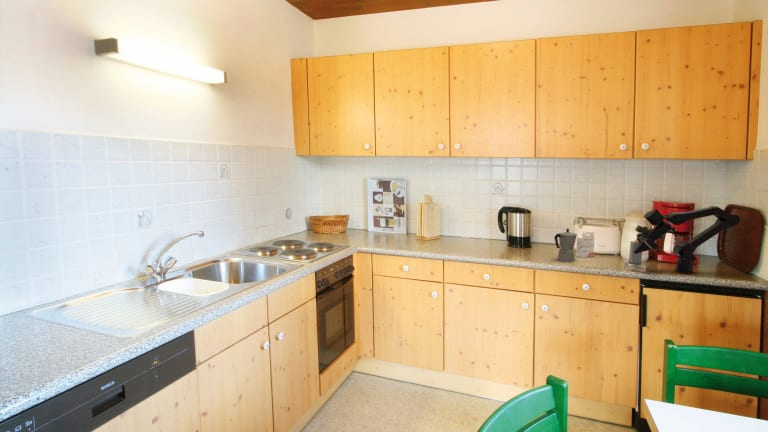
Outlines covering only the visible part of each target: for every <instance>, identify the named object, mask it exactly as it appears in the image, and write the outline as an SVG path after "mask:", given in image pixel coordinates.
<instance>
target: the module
mask: <svg viewBox="0 0 768 432" xmlns="http://www.w3.org/2000/svg"><path fill="white" fill-rule="evenodd" d="M629 245H630V246H629V254H628V256H629V257H628V258H629V259H628V261H629V263H630V264H634V265H641V262H642V259H643V257H642V256H643V252H640V253H637V254H635V253H634V251H635V250H636V249H637V248H638V247H639V246H640V245H641V242H639V241H638V240H637V239H634V241H633V240H631V241H630V243H629Z"/></svg>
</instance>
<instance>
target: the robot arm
mask: <svg viewBox="0 0 768 432" xmlns="http://www.w3.org/2000/svg"><path fill="white" fill-rule="evenodd" d="M710 216H711V217H712V216H714V217H715V218H717V219H716V220H715V222H714V224H712V225H710V226H709V227H707V228H705V229H704V230H702V231H701V232H699V233H698V234H697V235H696V236H694V237H692V238H691V239H690V240H684V239H682V240H680V241H679V242H677V243H675V244H674V247H673V250H672V251H673V254H674V255H675V256H676V258H677V260H676V264H675V268H674V270H675V271H677V272H679V273H684V274H695V273H696V272H695V271H694V263H695V262H696V260H697V257H696V256H695V255H694V253H695V251H696V250H697V248H698V247H700V246H701V245H703V244H704V243H706V242H707V241H709V240H711V239H712V238H713V237H714V236H717V235H718V234H720V232H722V231H725V230H728V229H729V230H730V229H731V228H734V227H736V226H738V225H739V224H740V221H741V218H740V216H739V215H738V214H734V213H730V212H728V211H726V210H724V209H722V208H720V207H719V206H714V205H711V206H709V207H704V208H698V209H695V210H689V211H685V212H684V211H674V212H669V213H667V214H662V213H661V212H660V211H659V210H658V209H657V208H654V209H652V210H649V211H648V212H646V213H645V215H643V218H644V219H645V220H646V221H647V222H648V223H649V224H650V225H652V226H654V227H652V228H649V227H648V226H645V225H644V226H641V225H639V224H637V226H636V228H635V229H634V231H636V233H637V234H636V235H635V236H636V237H635V238H636V240H638V241H639V242H641V245H640V246H639V247H638V248H637V249H636V250H635V251H634V253H635V254H637V253H640V252H642V253H644V252H647V251H652V250H654V251H655V250H657V249H658V244H657V243H656V242H657V241H659V240H662V239H663V237H665V235H666V234H668V233H669V232H672V233H674V234H675V233H676V226H680V225H683V224H685V223H687V222H688V221H691V220H695V219H701V218H706V217H710ZM672 225H673V226H672ZM674 225H675V226H674Z"/></svg>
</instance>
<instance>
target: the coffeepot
mask: <svg viewBox="0 0 768 432" xmlns="http://www.w3.org/2000/svg"><path fill="white" fill-rule="evenodd" d="M577 235H578V234H577V233H574V232H570V229H569V228H566V229H565V232H564V231H563V232H559V233H556V234H555V235H554V237H553V239H554V242H555V246H556V248H557V249H559V250H558V254H557V260H558V261H559V262H565V263H571V262H572V263H573V262H575V261H576V257H575V256H576V255H575V250H574V246H576V245H575V243H576V241H577V237H578V236H577Z"/></svg>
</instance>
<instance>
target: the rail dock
mask: <svg viewBox="0 0 768 432" xmlns="http://www.w3.org/2000/svg"><path fill="white" fill-rule="evenodd" d="M642 263H643V262H642V261H641V265H634V264H630V263H629V260H624V261H623V267H624V268H625V269H626V270H627V271H628V272H642V273H646V271H647V265H646V264H642Z"/></svg>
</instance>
